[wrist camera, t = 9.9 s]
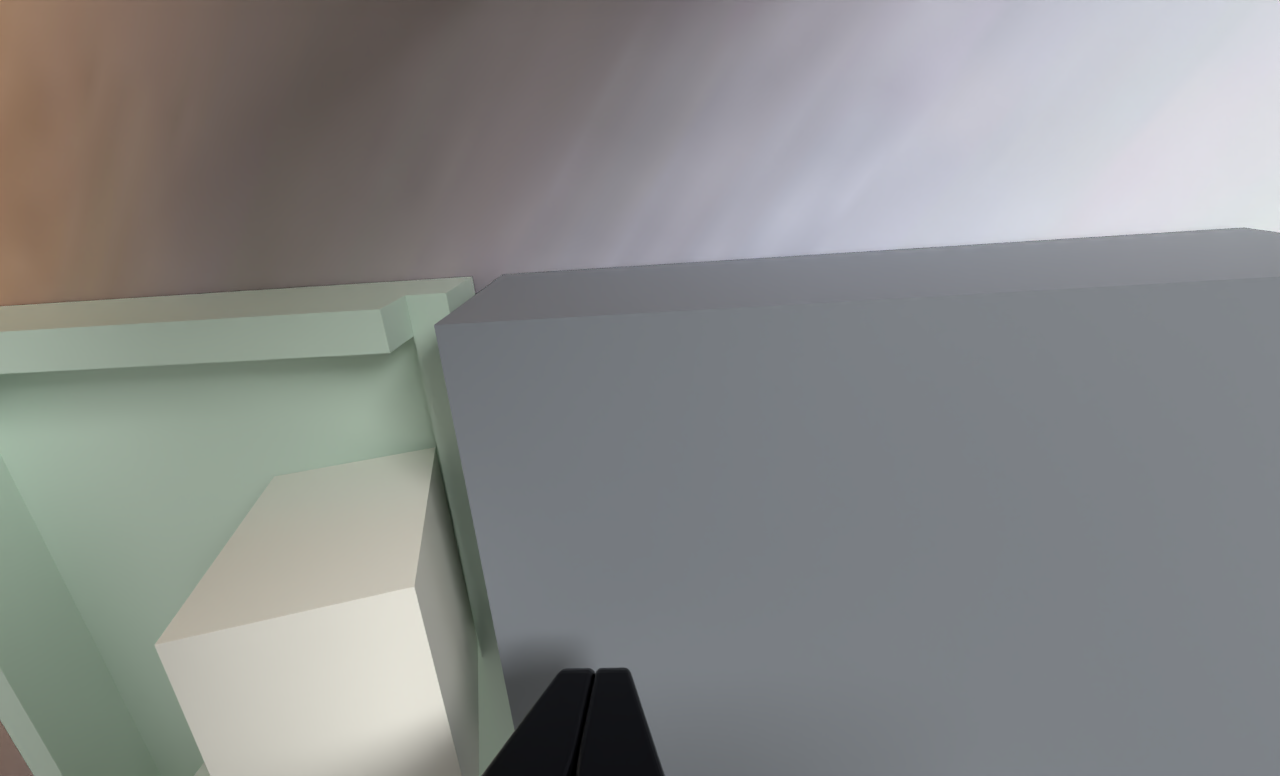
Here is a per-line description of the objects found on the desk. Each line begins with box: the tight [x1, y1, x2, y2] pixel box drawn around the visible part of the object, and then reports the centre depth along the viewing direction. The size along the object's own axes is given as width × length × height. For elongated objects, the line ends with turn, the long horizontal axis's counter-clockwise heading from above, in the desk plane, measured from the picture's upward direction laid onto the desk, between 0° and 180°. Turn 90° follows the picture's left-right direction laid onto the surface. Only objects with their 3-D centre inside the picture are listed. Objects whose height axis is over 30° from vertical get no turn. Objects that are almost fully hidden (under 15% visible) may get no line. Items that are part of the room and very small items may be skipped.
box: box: [0, 277, 515, 776], centre depth 12 cm, size 15×10×2 cm, turn 4°
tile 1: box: [154, 447, 479, 776], centre depth 9 cm, size 4×4×2 cm
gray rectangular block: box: [434, 228, 1280, 776], centre depth 11 cm, size 15×11×3 cm
